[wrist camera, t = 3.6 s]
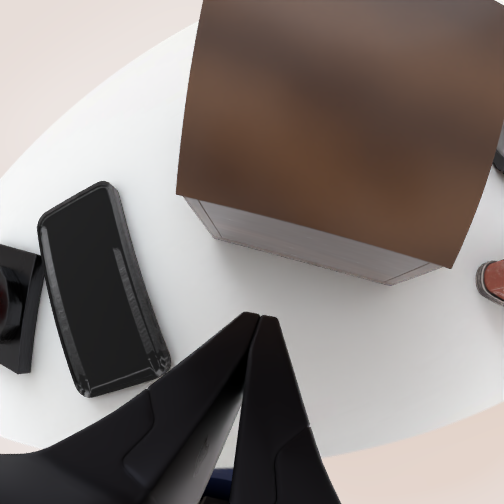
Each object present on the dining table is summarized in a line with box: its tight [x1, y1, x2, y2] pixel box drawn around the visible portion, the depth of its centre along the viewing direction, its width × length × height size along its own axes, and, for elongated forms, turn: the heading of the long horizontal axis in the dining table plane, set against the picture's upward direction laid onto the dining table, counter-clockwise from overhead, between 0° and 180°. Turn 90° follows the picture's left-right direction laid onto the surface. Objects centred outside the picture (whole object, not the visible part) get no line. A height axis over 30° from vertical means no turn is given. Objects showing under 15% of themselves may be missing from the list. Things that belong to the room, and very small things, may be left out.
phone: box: [37, 181, 171, 398], centre depth 21 cm, size 8×1×15 cm
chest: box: [183, 196, 443, 286], centre depth 19 cm, size 12×13×8 cm
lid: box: [176, 0, 504, 269], centre depth 11 cm, size 12×13×1 cm
